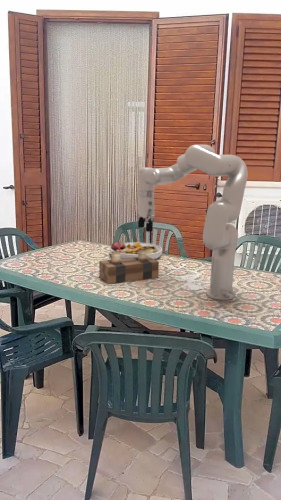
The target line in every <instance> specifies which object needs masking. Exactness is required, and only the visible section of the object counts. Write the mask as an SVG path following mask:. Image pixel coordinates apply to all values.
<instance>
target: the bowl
mask: <svg viewBox="0 0 281 500" xmlns="http://www.w3.org/2000/svg"><path fill="white" fill-rule="evenodd" d="M138 249H146V250H147V252H146V256H148V257H150V258H152V259H154V260H157V259H158V258H160V256H161V255H162V253H163V248H162V247H161V246H160V245H157V244H153V243H148V242H140V241H136V242H135V241H133V242H132V241H130V242H122V241H118V242H117V241H114V242H113V243H112V244H111V246H110V247H109V253H110V254H111V256H112V252H113V251H118V252H120V259H124V258H134V257H138Z"/></svg>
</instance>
